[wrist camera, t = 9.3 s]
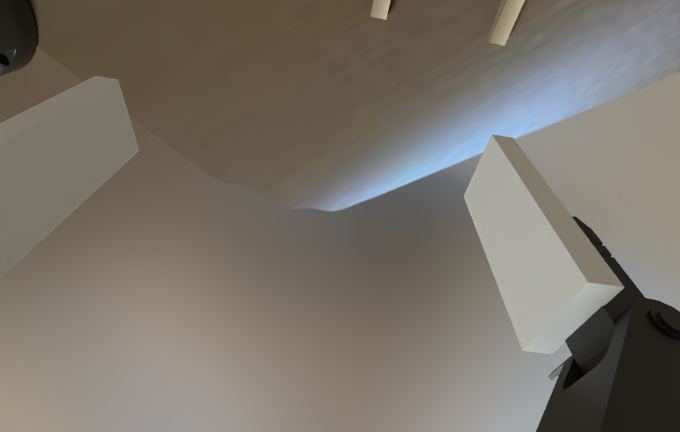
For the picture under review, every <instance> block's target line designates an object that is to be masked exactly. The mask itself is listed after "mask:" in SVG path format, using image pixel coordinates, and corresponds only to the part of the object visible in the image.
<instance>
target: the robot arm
mask: <svg viewBox="0 0 680 432" xmlns="http://www.w3.org/2000/svg"><path fill="white" fill-rule="evenodd" d="M36 46H37V31H36V25H35V20H34V17H33V13H32V10H31V8H30V5H29V3H28V1H27V0H0V76H2V75H5V74H8V73H11V72H14V71H17V70H20V69H22V68H23V67H25V66H26V65H27V64H28V63H29V62H30V61H31V60H32V58H33V56H34V54H35V51H36ZM138 151H139V149H138V145H137V142H136V138H135V135H134V132H133V128H132V125H131V122H130V118H129V115H128V111H127V108H126V105H125V101H124V98H123V95H122V91H121V88H120V84H119V81H118V79H112V78H106V77H99V76H94V77H92V78H90V79H88V80H86V81H84V82H82V83H80V84H78V85H76V86H74V87H72V88H70V89H68V90H66V91H64V92H62V93H60V94H58V95H56V96H54V97H52V98H50V99H48V100H46V101H44V102H42V103H40V104H38V105H36V106H34V107H32V108H30V109H28V110H26V111H24V112H22V113H20V114H18V115H16V116H14V117H12V118H10V119H8V120H6V121H4V122H2V123H0V279H1V278H2V277H3V276H4V275H5V274H6V273H7V272H8V271H9V270H10V269H11V268H13V267H14V266H15V265H16V264H17V263H18V262H19V261H20V260H21V259H22V258H23V257H25V256H26V255H27V254H28V253H29V252H30V251H31V250H32V249H33V248H34V247H35V246H36V245H38V244H39V243H40V242H41V241H42V240H43V239H44V238H45V237H46V236H47V235H48V234H49V233H51V232H52V231H53V230H54V229H55V228H56V227H57V226H58V225H59V224H60V223H61V222H62V221H64V219H66V218H67V217H68V216H69V215H70V214H71V213H72V212H73V211H74V210H75V209H76V208H78V207H79V206H80V205H81V204H82V203H83V202H84V201H85V200H86V199H87V198H88V197H89V196H91V195H92V194H93V193H94V192H95V191H96V190H97V189H98V188H99V187H100V186H101V185H102V184H103V183H105V182H106V181H107V180H108V179H109V178H110V177H111V176H112V175H113V174H114V173H115V172H117V171H118V169H120V168H121V167H122V166H123V165H124V164H125V163H126V162H127V161H128V160H129V159H131V158H132V157H133V156H134V155H135V154H136V153H137V152H138ZM464 198H465V201H466V204H467V206H468V209H469V212H470V214H471V217H472V219H473V222H474V225H475V227H476V230H477V232H478V235H479V238H480V240H481V243H482V246H483V248H484V251H485V253H486V256H487V259H488V261H489V264H490V266H491V269H492V272H493V274H494V277H495V279H496V282H497V285H498V287H499V290H500V293H501V295H502V298H503V301H504V303H505V305H506V308H507V311H508V313H509V316H510V319H511V321H512V324H513V327H514V329H515V332H516V334H517V337H518V340H519V342H520V345H521V348H522V350H523V351H530V352H538V353H546V354H552V353H553V352H555V351H556V350H557V349H558V348H559V347H560V346H561V345H562V344H563V343H564V342H566V343H567V345H568V347H569V349H570V351H571V353H572V356H571V357H569V358H568V359H567V360H566V361H565V362H563V363H562V364H561V365H560V366H559V367H558V368H556V369H555V370H554V371H553V372H552V373H551V374H550V375H549V376H548V377H549V378H550V379H551V380H553V379H554V378H555V377H556V376H558V375H559V377H558V379H557V382H556V384H555V387H554V389H553V392H552V394H551V396H550V399H549V401H548V404H547V406H546V409H545V411H544V414H543V416H542V418H541V421H540V423H539V426H538V428H537V431H536V432H680V312H679V311H678V310H676V309H675V308H673V307H671V306H669V305H667V304H664V303H662V302H660V301H656V300H653V299H647V298H645V297H644V296H643V294H642V293H641V292H640V291H639V289H638V288H637V287H636V285H635V284H634V283H633V282H632V280H631V279H630V278H629V276H628V275H627V274H626V273H625V271H624V270H623V269H622V268H621V266H620V265H619V264H618V263H617V261H616V260H615V259H614V258H612V257H611V254H610V252H609V251H608V250H607V248H606V247H605V246H602V242H601V241H600V239H599V238H598V237H597V236H596V234H595V233H594V232H593V231H592V229H590V228H589V227H588V226H587V225H585V224H584V223H583V222H581V221H580V220H579V219H578V218H577V217H572V216H571V215H570V214H569V212H568V211H567V210H566V208H565V207H564V205H563V204H562V203H561V202H560V200H559V199H558V197H557V196H556V195H555V193H554V192H553V191H552V189H551V188H550V187H549V185H548V184H547V183H546V181H545V180H544V179H543V177H542V176H541V175H540V173H539V172H538V171H537V169H536V168H535V167H534V165H533V164H532V163H531V161H530V160H529V159H528V157H527V156H526V155H525V153H524V152H523V151H522V149H521V148H520V147H519V145H518V144H517V143H516V141H515V140H514V138H511V137H505V136H498V135H492V136H491V138H490V140H489V142H488V144H487V147H486V149H485V151H484V153H483V155H482V158H481V160H480V162H479V164H478V166H477V168H476V171H475V173H474V175H473V177H472V179H471V181H470V184H469V186H468V188H467V190H466V192H465V195H464Z"/></svg>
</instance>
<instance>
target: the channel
mask: <svg viewBox="0 0 680 432" xmlns="http://www.w3.org/2000/svg"><path fill="white" fill-rule="evenodd" d="M390 1H391V0H373V5H372V10H371V15H370V16H372V17H376V18H381V19H385V20H386V18H387V14H388V10H389V5H390ZM524 1H525V0H502V2H501V5H500V7H499V9H498V12H497V14H496V17H495V19H494V21H493V24H492V26H491V29H490V31H489V33H488V36H487V38H486V40H487V41H488V42H490V43H494V44H499V45H503V46H505V43H506V41H507V39H508V37H509V34H510V32H511V30H512V28H513V26H514V23H515V21H516V19H517V17H518V15H519V12H520V10H521V8H522V6H523V4H524Z"/></svg>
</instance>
